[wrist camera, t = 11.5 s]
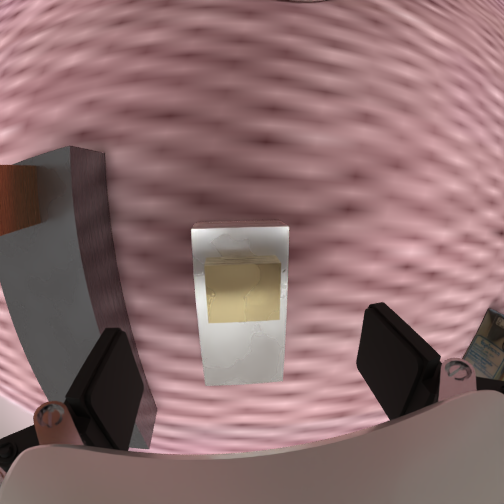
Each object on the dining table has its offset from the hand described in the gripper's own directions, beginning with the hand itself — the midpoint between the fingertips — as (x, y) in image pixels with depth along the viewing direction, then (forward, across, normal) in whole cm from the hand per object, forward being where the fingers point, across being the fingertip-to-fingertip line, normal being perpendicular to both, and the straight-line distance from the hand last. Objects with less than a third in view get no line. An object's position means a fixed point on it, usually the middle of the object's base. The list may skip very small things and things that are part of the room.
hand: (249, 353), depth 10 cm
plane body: (+8, +11, +2) cm, 14 cm away
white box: (+8, 0, +2) cm, 8 cm away
